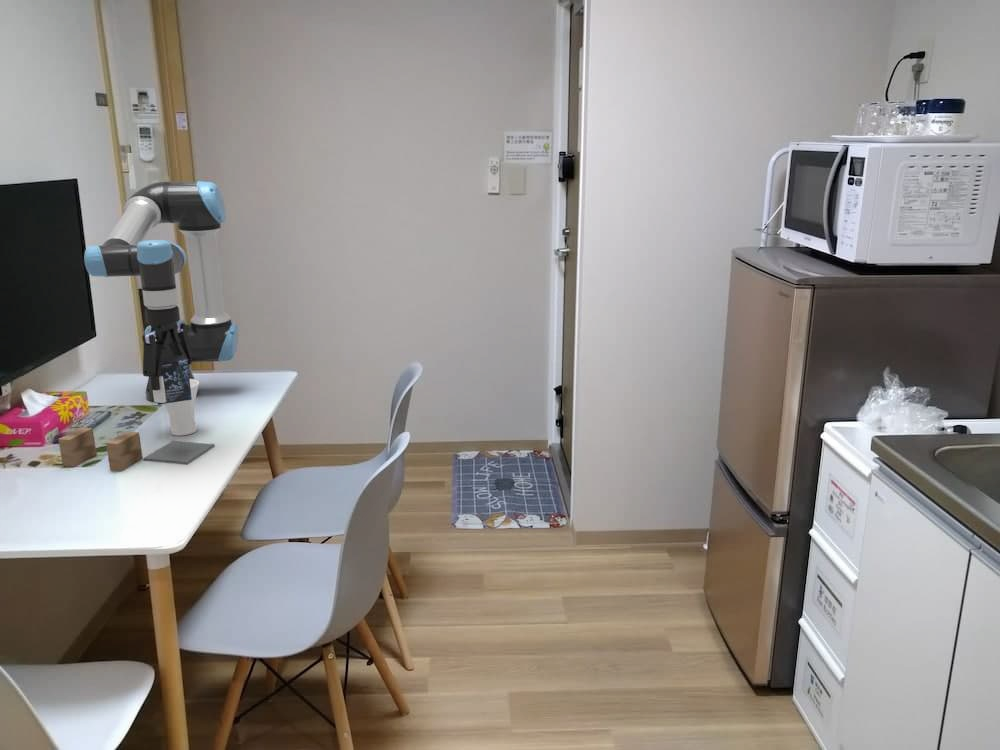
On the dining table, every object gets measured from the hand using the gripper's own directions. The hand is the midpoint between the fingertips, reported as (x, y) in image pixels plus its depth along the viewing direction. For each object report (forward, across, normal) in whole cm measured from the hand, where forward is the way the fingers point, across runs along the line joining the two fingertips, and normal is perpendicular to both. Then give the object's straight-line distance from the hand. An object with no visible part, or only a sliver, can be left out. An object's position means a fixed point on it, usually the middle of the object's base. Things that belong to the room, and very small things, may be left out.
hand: (172, 395), depth 189 cm
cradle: (+15, +9, -15) cm, 23 cm away
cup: (+15, -14, -8) cm, 22 cm away
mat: (+15, 0, 0) cm, 15 cm away
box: (+1, 0, 0) cm, 1 cm away
